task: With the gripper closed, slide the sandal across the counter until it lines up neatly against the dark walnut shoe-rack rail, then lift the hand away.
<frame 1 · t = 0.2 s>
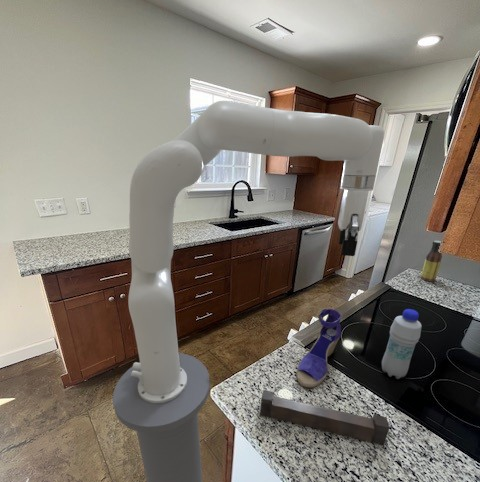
hand: (345, 249, 72), 32 cm above the worktop, tool pointing down, fingers open, 9 cm apart
bottle: (392, 372, 74), on the worktop
sandal: (318, 366, 76), on the worktop
sauce bottle: (427, 279, 133), on the worktop
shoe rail: (318, 424, 59), on the worktop
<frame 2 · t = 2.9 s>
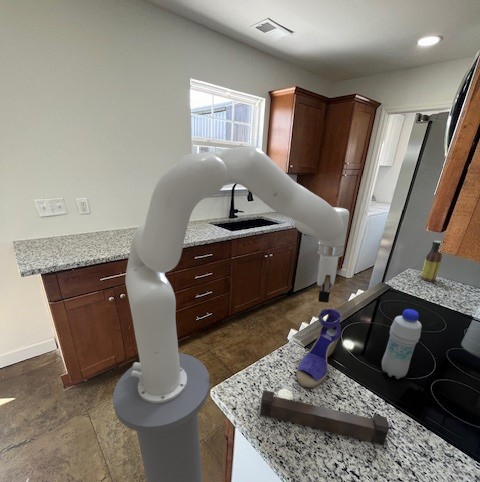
hand: (323, 300, 89), 11 cm above the worktop, tool pointing down, fingers closed
nothing on the worktop moved.
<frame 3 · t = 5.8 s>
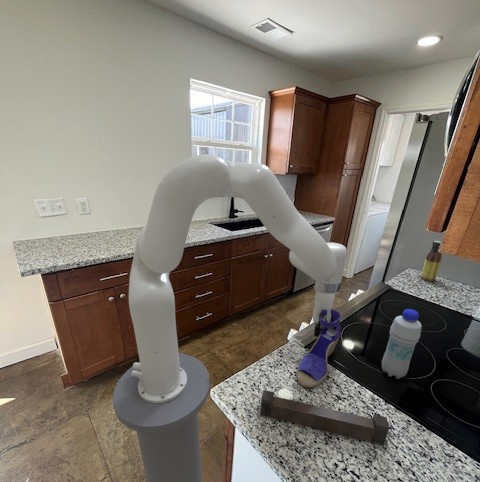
hand: (319, 335, 86), 2 cm above the worktop, tool pointing down, fingers closed
sandal: (318, 366, 76), on the worktop, touching gripper
everything else where it was.
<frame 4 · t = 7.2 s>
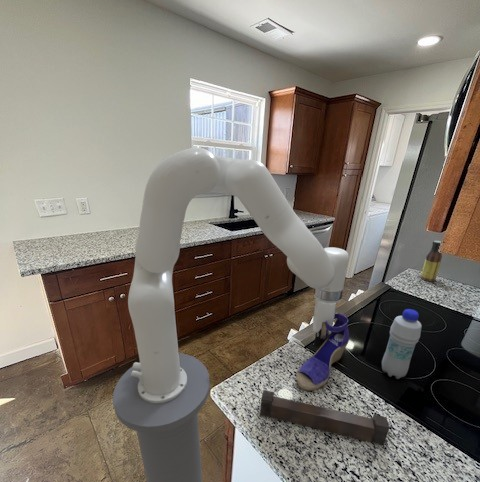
hand: (319, 345, 81), 2 cm above the worktop, tool pointing down, fingers closed
sandal: (321, 370, 74), on the worktop
everything else where it was.
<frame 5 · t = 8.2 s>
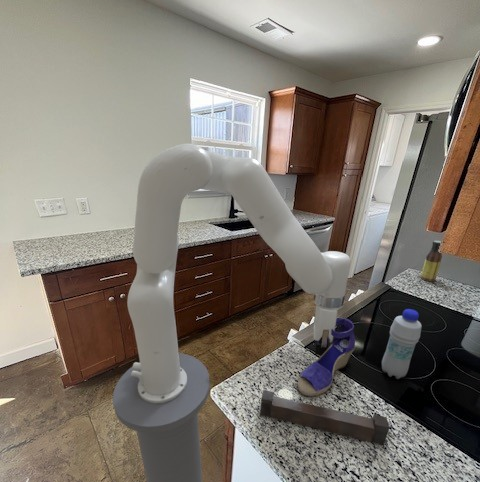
hand: (320, 353, 77), 2 cm above the worktop, tool pointing down, fingers closed
sandal: (325, 376, 72), on the worktop, touching gripper
everything else where it was.
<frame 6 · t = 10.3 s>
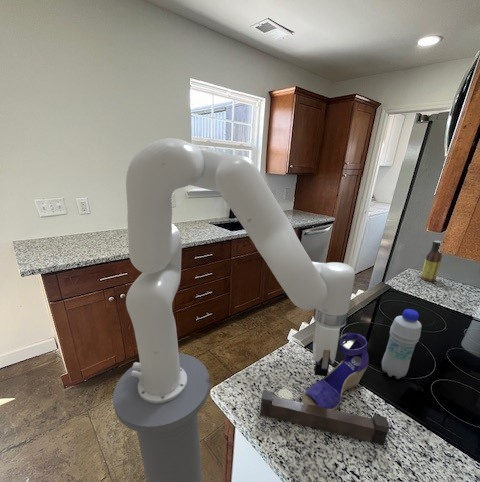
hand: (320, 373, 70), 2 cm above the worktop, tool pointing down, fingers closed
sandal: (333, 395, 66), on the worktop, touching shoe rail
everything else where it was.
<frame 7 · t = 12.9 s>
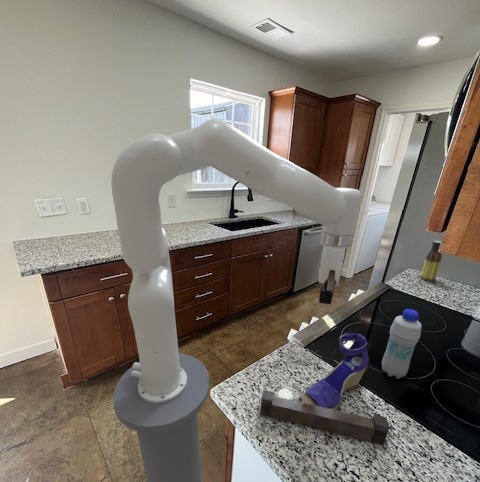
hand: (324, 302, 74), 18 cm above the worktop, tool pointing down, fingers closed
sandal: (333, 395, 66), on the worktop
everything else where it was.
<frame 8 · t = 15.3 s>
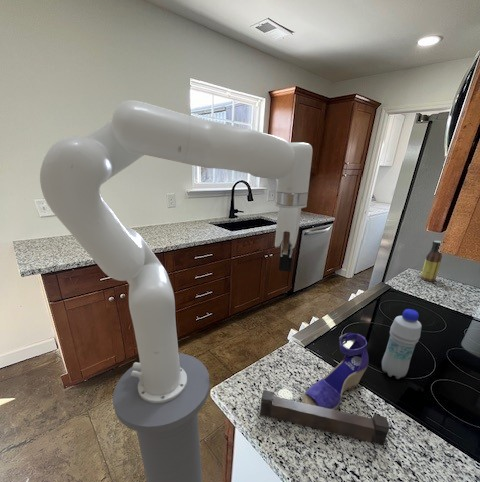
hand: (285, 269, 71), 27 cm above the worktop, tool pointing down, fingers closed
nothing on the worktop moved.
at the end: sandal inside the target area (3.7 cm from its centre), on the worktop; sandal moved 10.4 cm from its start; sandal tilted 0° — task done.
